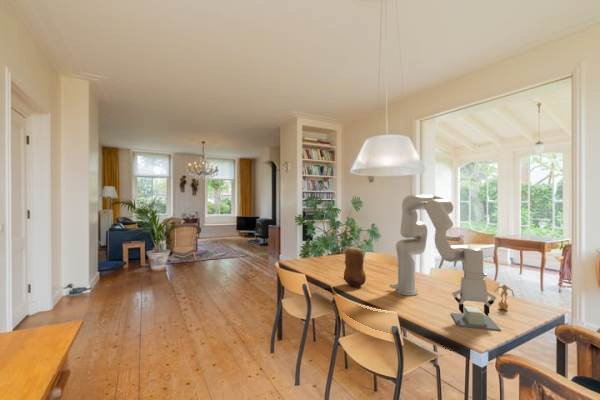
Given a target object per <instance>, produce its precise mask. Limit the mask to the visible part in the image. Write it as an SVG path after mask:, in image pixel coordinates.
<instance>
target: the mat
mask: <svg viewBox="0 0 600 400" xmlns="http://www.w3.org/2000/svg"><path fill="white" fill-rule="evenodd" d="M450 316H451V317H452V319H453V321H454V322H455V324H456V325H457V327H458V328H460V327H461V328H467V329H468V328H469V329H470V328H471V329H476V330H477V329H478V330H479V329H480V330H487V331H495V332H497V331H498V332H501V331H502V329H501V328H500V327H499V326H498V325H497V324H496V322H495V321H494V320H493V319H492V318H491V317H490V316H489V315H488V316H487V315H484V325H475V324H469V322H468V321H467V319H466V318H465V316H464V313H459V312H458V313H457V312H450Z"/></svg>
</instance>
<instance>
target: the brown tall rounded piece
mask: <svg viewBox="0 0 600 400" xmlns="http://www.w3.org/2000/svg"><path fill="white" fill-rule="evenodd" d="M344 256H345V260H344V265H345V268H344V271H343V280H344V281H345V283H346V284H347V285H349V286H353V287H354V288H359V287H360V286H363V285H364V284H365V283H366V280H367V278H366V277H367V276H366V271H365V270H364V260H365V259H364V252H363V249H362V248H360V247H354V246H350V247H348V248H346V249H345V255H344Z"/></svg>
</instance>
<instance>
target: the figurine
mask: <svg viewBox="0 0 600 400" xmlns="http://www.w3.org/2000/svg"><path fill="white" fill-rule="evenodd" d="M499 289H502V290H501V293H500V297H501V300H500V301H499V302H498V308H499V309H501V310H508V308H509V304H508V302H507V296H508V292H507V291H508V290H509V291H511V293H512V297H515V294H514V290H513V289H511V287H509V286H507V285H506V284H503V285H502V286H498V287H497V288H496V289H495V291H494V293H496V292H497V291H498V290H499ZM503 296H504V297H503ZM504 299H505V300H504Z"/></svg>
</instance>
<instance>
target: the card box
mask: <svg viewBox="0 0 600 400" xmlns="http://www.w3.org/2000/svg"><path fill="white" fill-rule="evenodd" d="M463 314H464V316H465V318H466V319H467V321H468V322H469V324H475V325H484V316H485V313H484V312H482V311H481V310H480V308H479V307H477V306H467V305H464V313H463Z"/></svg>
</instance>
